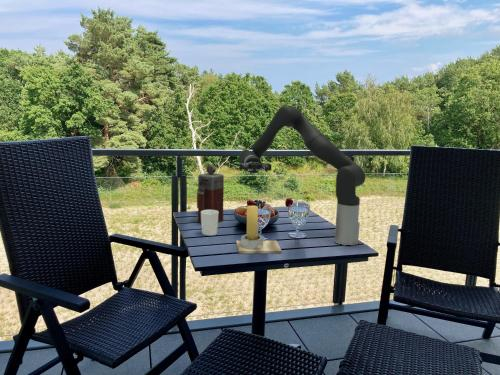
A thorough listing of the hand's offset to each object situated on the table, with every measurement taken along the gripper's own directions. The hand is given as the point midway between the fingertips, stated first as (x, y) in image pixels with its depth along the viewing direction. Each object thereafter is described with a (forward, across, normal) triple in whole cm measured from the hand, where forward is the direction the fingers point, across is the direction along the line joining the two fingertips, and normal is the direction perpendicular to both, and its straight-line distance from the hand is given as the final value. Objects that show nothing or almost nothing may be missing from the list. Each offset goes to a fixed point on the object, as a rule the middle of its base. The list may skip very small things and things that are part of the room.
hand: (256, 169), depth 187 cm
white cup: (-4, -20, +30) cm, 36 cm away
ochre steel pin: (+16, -3, +29) cm, 33 cm away
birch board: (+16, -1, +30) cm, 34 cm away
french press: (-23, -20, +30) cm, 43 cm away
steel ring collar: (+16, -3, +29) cm, 33 cm away
